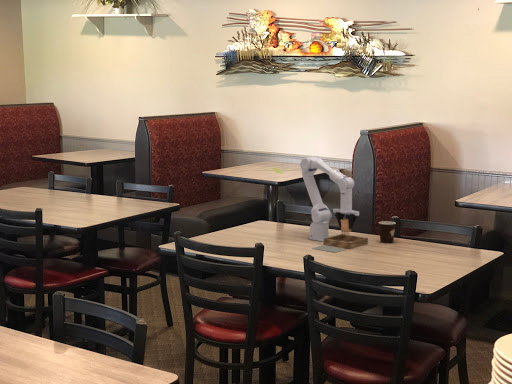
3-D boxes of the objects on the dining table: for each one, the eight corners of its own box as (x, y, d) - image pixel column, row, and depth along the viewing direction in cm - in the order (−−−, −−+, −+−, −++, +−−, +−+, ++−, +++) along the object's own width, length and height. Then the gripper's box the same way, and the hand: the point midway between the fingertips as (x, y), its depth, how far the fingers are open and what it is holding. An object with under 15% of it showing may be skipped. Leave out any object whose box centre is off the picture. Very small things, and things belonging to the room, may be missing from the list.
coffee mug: (382, 244, 344) (383, 224, 343) (375, 240, 352) (375, 221, 351) (403, 242, 347) (404, 223, 346) (395, 239, 355) (396, 220, 354)
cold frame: (323, 244, 344) (323, 238, 344) (341, 239, 356) (341, 233, 356) (350, 249, 334) (350, 243, 333) (367, 243, 346) (367, 237, 345)
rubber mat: (312, 248, 336) (312, 248, 336) (322, 245, 342) (322, 245, 342) (335, 252, 326) (335, 252, 326) (346, 249, 333) (346, 249, 333)
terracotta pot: (338, 231, 344) (338, 219, 343) (344, 229, 348) (344, 218, 347) (347, 232, 340) (347, 220, 339) (353, 230, 344) (353, 219, 343)
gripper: (329, 201, 344) (329, 227, 346) (353, 204, 334) (353, 231, 336) (337, 199, 349) (337, 225, 351) (361, 202, 339) (361, 229, 341)
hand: (345, 228), depth 344 cm, fingers closed on terracotta pot, 5 cm apart
